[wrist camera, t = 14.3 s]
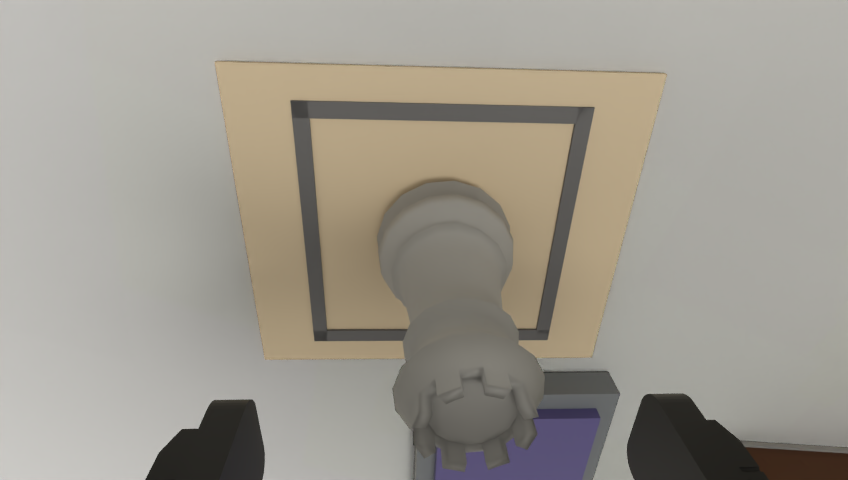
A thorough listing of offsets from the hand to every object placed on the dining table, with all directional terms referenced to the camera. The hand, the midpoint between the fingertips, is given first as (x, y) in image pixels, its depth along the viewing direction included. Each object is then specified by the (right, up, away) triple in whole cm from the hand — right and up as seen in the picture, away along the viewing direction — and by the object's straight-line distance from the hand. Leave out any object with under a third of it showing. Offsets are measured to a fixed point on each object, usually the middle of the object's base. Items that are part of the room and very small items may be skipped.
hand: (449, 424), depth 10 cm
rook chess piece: (0, +4, +7) cm, 8 cm away
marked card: (0, +4, +7) cm, 8 cm away
